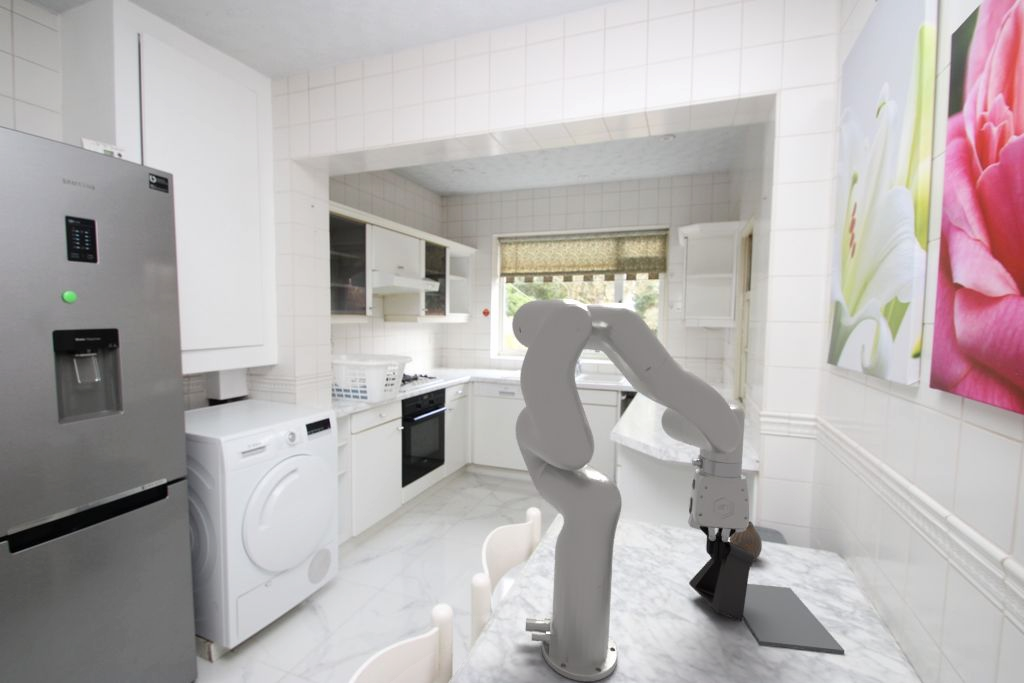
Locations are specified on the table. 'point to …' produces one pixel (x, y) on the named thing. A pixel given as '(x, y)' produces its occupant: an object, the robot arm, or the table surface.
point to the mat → (784, 620)
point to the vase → (748, 540)
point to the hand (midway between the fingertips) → (715, 557)
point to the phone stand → (725, 581)
